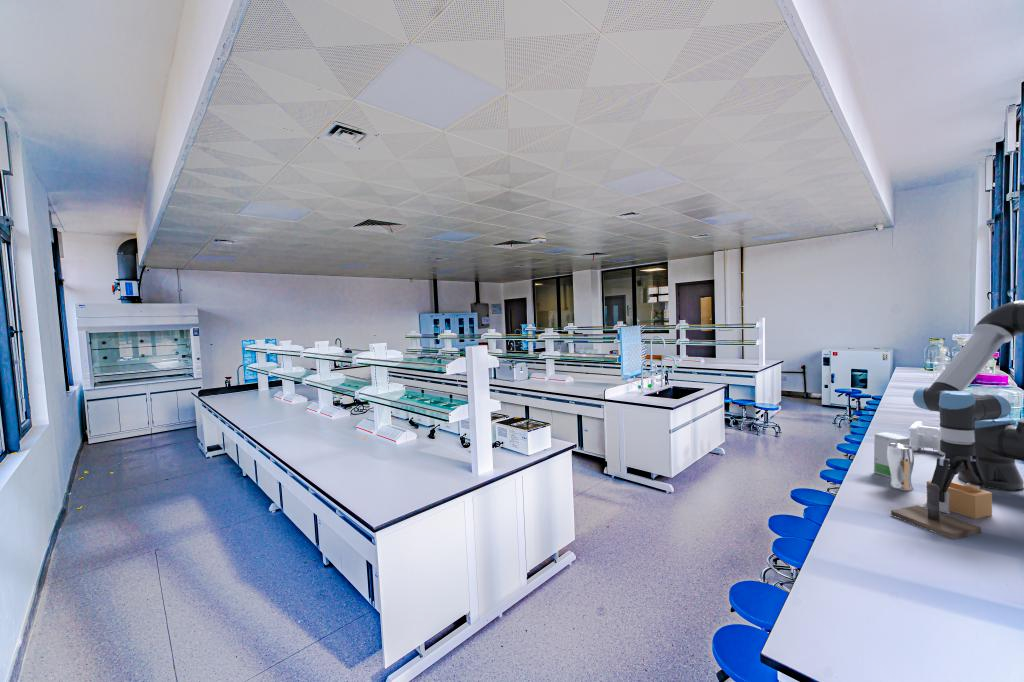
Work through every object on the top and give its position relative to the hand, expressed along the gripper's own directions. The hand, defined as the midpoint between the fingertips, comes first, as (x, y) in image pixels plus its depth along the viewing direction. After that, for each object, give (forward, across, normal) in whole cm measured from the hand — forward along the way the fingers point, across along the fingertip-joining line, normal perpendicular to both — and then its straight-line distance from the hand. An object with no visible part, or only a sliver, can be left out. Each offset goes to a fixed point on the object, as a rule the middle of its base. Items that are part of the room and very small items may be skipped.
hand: (958, 508), depth 129 cm
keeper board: (0, +17, +4) cm, 17 cm away
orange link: (0, 0, 0) cm, 0 cm away
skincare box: (0, -11, -26) cm, 28 cm away
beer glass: (0, -2, -17) cm, 17 cm away
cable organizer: (0, -53, -40) cm, 66 cm away
